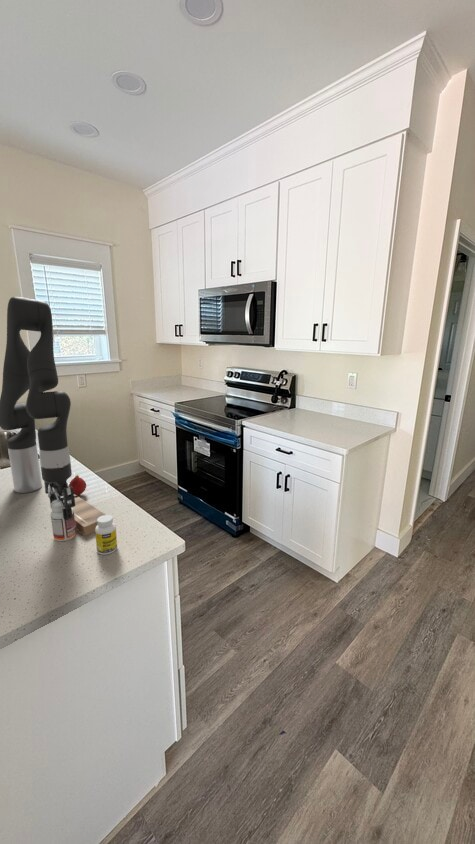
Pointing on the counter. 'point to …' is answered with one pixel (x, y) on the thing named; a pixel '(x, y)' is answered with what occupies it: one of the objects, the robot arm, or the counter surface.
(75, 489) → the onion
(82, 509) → the brown banded box
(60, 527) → the pill bottle
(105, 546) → the supplement bottle
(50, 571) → the counter surface
